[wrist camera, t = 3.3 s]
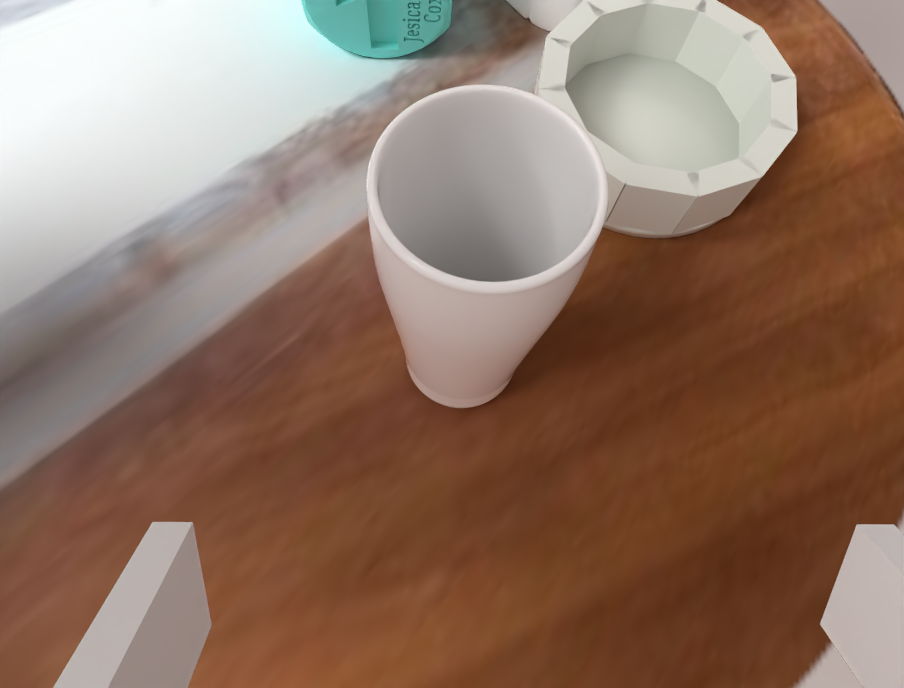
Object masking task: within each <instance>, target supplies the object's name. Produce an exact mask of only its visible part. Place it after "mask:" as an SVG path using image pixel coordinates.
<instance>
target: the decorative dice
mask: <svg viewBox="0 0 904 688" xmlns="http://www.w3.org/2000/svg"><path fill="white" fill-rule="evenodd" d="M302 4H303V8H304V12H305V15H306V17H307V20H308V22H309V23H310V24H311V25H312V26H313V27H314V28H315V29H316V30H317V31H318V32H319V33H320V34H321V35H323V36H324V37H325V38H327V39H328V40H329V41H331V42H332V43H334V44H335V45H337V46H339V47H341V48H343V49H345V50H348V51H350V52H353V53H355V54H359V55H362V56H367V57H374V58H392V57H398V56H403V55H406V54H409V53H412V52H415V51H417V50H420V49H422V48H424V47H425V46H427V45H429V44H430V43H432V42H433V41H435V40H436V39H437V38H438V37H440V36H441V35H442V34H443V33H444V32H445V31H446V30H447V29H448V28H449V27H450V24H451V13H452V0H302Z"/></svg>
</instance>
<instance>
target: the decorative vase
mask: <svg viewBox="0 0 904 688" xmlns="http://www.w3.org/2000/svg"><path fill="white" fill-rule="evenodd" d="M506 1H507V2H508V3H509V4H510V5H511V6H512V7H513V8H514V9H515V10H516V11H517V12H519V13H520V14H521V15H522V16H523V17H524V18H529V19H530V21H531V23H532V24H534V25H536V26H537V27H539V28H541V29H544V30H547V31H550V32H551V31H552V30H553V29H554V28H555V27H556V26H557V25H558V24H560V23H561V22H562V21H563V20H564V19H565V18H566V17H567V16H568V15H569V14H570V13H571V12H572V11H573V10H574V9H575V8H576V7H577V6H578V5H579V4H580V3H581V2H582V1H583V0H506Z"/></svg>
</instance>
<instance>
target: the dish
mask: <svg viewBox="0 0 904 688" xmlns="http://www.w3.org/2000/svg"><path fill="white" fill-rule="evenodd" d="M761 28H762V27H760V26H759V25H757V24H755V23H754V22H752V21H750V20H749V19H747V18H745V17H744V16H742V15H740V14H739V13H737V12H735V11H734V10H732V9H730V8H729V7H727V6H725V5H724V4H722V3H720V2H719V1H717V0H583V1H582V2H581V3H580V4H579V5H578V6H577V7H576V8H575V9H574V10H573V11H572V12H571V13H570V14H569V15H568V16H567V17H566V18H565V19H564V20H563V21H562V22H561V23H560V24H558V25H557V26H556V27H555V28H554V29H553V30H552V31H551V32H550V33H549V34H548V35H547V37H546V40H545V44H544V49H543V53H542V58H541V62H540V67H539V71H538V75H537V80H536V84H535V90H534V94H535V95H537V96H539V97H542V98H544V99H546V100H548V101H550V102H551V103H553V104H555V105H556V106H558V107H559V108H561V109H562V110H564V111H565V112H566V113H568V114H569V115H570V116H571V117H572V118H574V119H575V120H576V121H577V122H578V123H579V124H580V125H581V126H582V127H583V129H584V130H585V131H586V132H587V133H588V135H589V136H590V137H591V139H592V141H593V142H594V144H595V145H596V147H597V149H598V151H599V153H600V155H601V157H602V160H603V162H604V165H605V169H606V172H607V178H608V184H609V204H608V210H607V215H606V219H605V222H604V225H603V228H605V229H608V230H611V231H614V232H617V233H620V234H625V235H629V236H634V237H642V238H671V237H679V236H684V235H688V234H692V233H695V232H698V231H700V230H703V229H705V228H708V227H710V226H711V225H713V224H715V223H717V222H718V221H720V220H721V219H723V218H724V217H727V216H729V215H730V214H731V213H732V212H733V211H734V210H735V209H736V207H737V206H738V205H739V204H740V203H741V201H742V200H743V199H744V198H745V197H746V196H747V194H748V193H749V192H750V191H751V190H752V188H753V187H754V186H755V185H756V184H757V183H758V181H759V180H760V179H761V178H762V177H763V175H764V174H765V173H766V172H767V170H768V169H769V168H770V166H771V165H772V164H773V163H774V161H775V160H776V159H777V157H778V156H779V155H780V154H781V152H782V151H783V150H784V148H785V147H786V146H787V145H788V143H789V142H790V141H791V139H792V138H793V137H794V136H795V134H796V133H797V92H796V78H795V77H796V76H795V75H794V73H793V72H792V70H791V69H790V67H789V66H788V65H787V63H786V62H785V60H784V59H783V57H782V56H781V54H780V53H779V51H778V50H777V48H776V47H775V45H774V44H773V43H772V41H771V40H770V38H769V37H768V35H767V34H766V32H765V31H764V29H763V28H762V29H761Z"/></svg>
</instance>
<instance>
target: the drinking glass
mask: <svg viewBox="0 0 904 688" xmlns="http://www.w3.org/2000/svg"><path fill="white" fill-rule="evenodd" d="M366 185H367V200H368V218H369V228H370V237H371V244H372V251H373V256H374V261H375V265H376V270H377V274H378V278H379V281H380V285H381V288H382V291H383V294H384V296H385V299H386V302H387V305H388V307H389V310H390V313H391V316H392V318H393V321H394V324H395V326H396V329H397V332H398V335H399V338H400V341H401V343H402V346H403V349H404V352H405V359H406V365H407V369H408V371H409V374H410V376H411V378H412V380H413V382H414V383H415V385H416V386H417V387H418V389H419V390H420V391H421V392H422V393H423V394H425V395H426V396H427V397H428V398H430V399H431V400H433V401H435V402H437V403H439V404H442V405H444V406H448V407H453V408H470V407H475V406H479V405H482V404H484V403H486V402H488V401H490V400H492V399H493V398H495V397H496V396H497V395H498V394H500V393H501V392H502V391H503V389H504V388H505V387H506V386H507V384H508V383H509V381H510V380H511V378H512V376H513V373H514V371H515V370H516V369H517V367H518V366H519V365H520V363H521V362H522V361H523V359H524V358H525V357H526V355H527V354H528V353H529V352H530V350H531V349H532V348H533V347H534V345H535V344H536V343H537V342H538V340H539V339H540V338H541V337H542V335H543V334H544V333H545V332H546V330H547V329H548V328H549V326H550V325H551V324H552V322H553V321H554V320H555V319H556V317H557V316H558V314H559V313H560V312H561V310H562V309H563V307H564V306H565V304H566V303H567V301H568V300H569V298H570V296H571V294H572V293H573V291H574V289H575V287H576V286H577V284H578V282H579V280H580V278H581V276H582V274H583V272H584V270H585V268H586V266H587V264H588V261H589V259H590V257H591V254H592V252H593V250H594V247H595V245H596V242H597V240H598V237H599V235H600V232H601V230H602V228H603V225H604V222H605V219H606V215H607V210H608V204H609V184H608V178H607V172H606V169H605V165H604V162H603V160H602V157H601V155H600V153H599V151H598V149H597V147H596V145H595V144H594V142H593V141H592V139H591V137H590V136H589V135H588V133H587V132H586V131H585V130H584V129H583V127H582V126H581V125H580V124H579V123H578V122H577V121H576V120H575V119H574V118H572V117H571V116H570V115H569V114H568V113H566V112H565V111H564V110H562V109H561V108H559V107H558V106H556V105H555V104H553V103H551V102H550V101H548V100H546V99H544V98H542V97H539V96H537V95H535V94H532V93H529V92H526V91H523V90H520V89H516V88H511V87H506V86H499V85H466V86H459V87H454V88H450V89H446V90H442V91H439V92H437V93H434V94H431V95H429V96H427V97H425V98H423V99H421V100H419V101H417V102H416V103H414V104H412V105H411V106H409V107H408V108H407V109H405V110H404V111H403V112H402V113H400V114H399V115H398V116H397V117H396V118H395V119H394V120H393V121H392V122H391V123H390V124H389V125H388V127H387V128H386V129H385V131H384V132H383V133H382V135H381V137H380V138H379V140H378V142H377V144H376V146H375V148H374V150H373V153H372V156H371V158H370V162H369V166H368V171H367V181H366Z"/></svg>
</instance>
